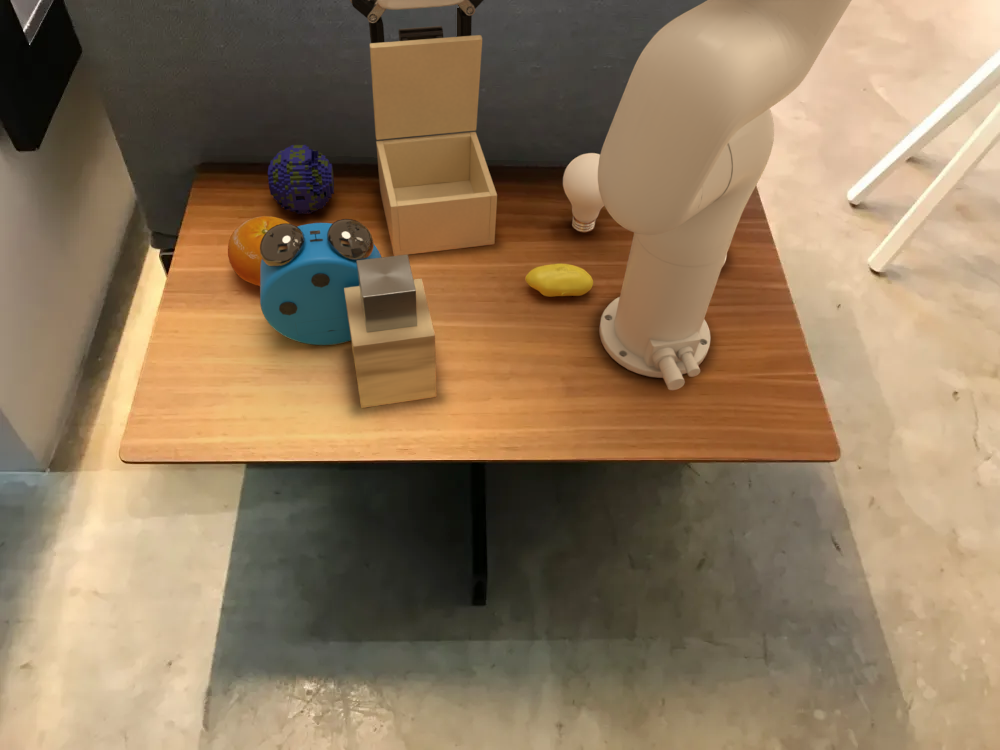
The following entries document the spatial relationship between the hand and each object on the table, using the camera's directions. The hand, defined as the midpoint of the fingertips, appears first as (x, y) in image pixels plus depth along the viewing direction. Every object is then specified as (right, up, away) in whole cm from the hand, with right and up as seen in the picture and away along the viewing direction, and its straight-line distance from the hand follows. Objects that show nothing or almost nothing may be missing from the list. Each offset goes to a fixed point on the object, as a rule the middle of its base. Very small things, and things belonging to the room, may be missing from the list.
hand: (421, 45), depth 101 cm
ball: (-16, -17, +9) cm, 25 cm away
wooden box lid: (+1, -6, 0) cm, 6 cm away
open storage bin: (+1, -19, +8) cm, 21 cm away
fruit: (-18, -27, +1) cm, 32 cm away
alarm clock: (-10, -34, -4) cm, 35 cm away
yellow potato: (+16, -29, +1) cm, 33 cm away
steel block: (-2, -33, -16) cm, 36 cm away
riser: (-2, -39, -8) cm, 40 cm away
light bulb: (+20, -20, +8) cm, 30 cm away
